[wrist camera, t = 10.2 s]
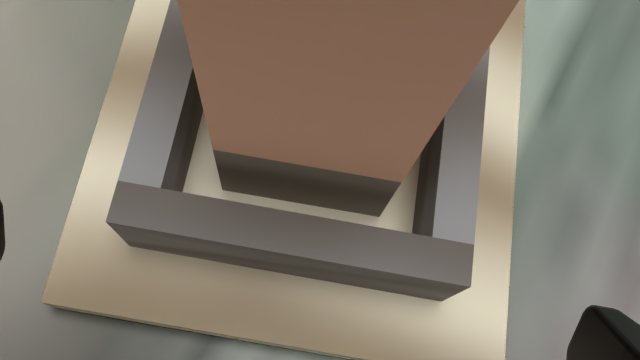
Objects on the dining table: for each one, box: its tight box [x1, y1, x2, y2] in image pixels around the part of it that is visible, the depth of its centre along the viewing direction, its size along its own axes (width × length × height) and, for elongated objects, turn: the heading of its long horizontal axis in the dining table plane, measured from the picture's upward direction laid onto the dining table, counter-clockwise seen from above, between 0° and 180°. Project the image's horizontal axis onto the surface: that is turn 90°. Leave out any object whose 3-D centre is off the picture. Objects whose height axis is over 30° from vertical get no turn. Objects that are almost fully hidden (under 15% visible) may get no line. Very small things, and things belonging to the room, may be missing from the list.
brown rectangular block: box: [177, 0, 519, 217], centre depth 12 cm, size 4×4×11 cm
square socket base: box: [41, 0, 526, 360], centre depth 17 cm, size 12×12×4 cm
